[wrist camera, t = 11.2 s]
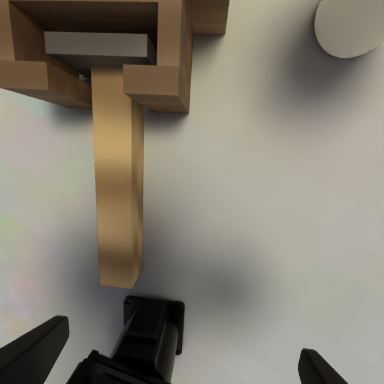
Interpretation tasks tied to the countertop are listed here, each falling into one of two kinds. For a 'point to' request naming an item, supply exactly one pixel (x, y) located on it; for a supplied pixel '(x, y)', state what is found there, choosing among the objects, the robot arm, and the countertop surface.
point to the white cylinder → (349, 26)
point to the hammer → (113, 143)
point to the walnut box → (106, 23)
